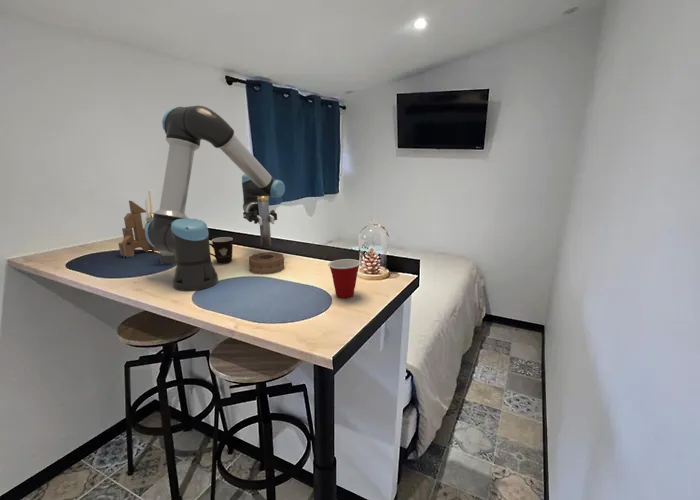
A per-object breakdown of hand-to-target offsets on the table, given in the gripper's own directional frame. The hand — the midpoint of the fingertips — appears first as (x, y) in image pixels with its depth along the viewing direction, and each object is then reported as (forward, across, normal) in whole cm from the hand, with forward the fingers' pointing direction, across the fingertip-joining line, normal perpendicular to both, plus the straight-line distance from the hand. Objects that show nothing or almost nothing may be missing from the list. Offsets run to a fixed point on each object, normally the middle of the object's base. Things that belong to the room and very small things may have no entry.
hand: (267, 221), depth 141 cm
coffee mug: (-23, +17, -21) cm, 35 cm away
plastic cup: (+34, -18, -21) cm, 44 cm away
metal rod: (-5, 0, -11) cm, 12 cm away
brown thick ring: (-5, 0, -21) cm, 22 cm away
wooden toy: (-50, +50, -21) cm, 74 cm away
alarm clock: (-34, +35, -21) cm, 53 cm away
